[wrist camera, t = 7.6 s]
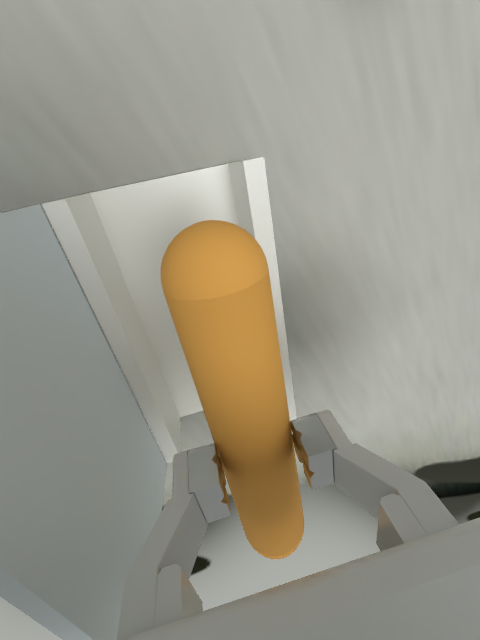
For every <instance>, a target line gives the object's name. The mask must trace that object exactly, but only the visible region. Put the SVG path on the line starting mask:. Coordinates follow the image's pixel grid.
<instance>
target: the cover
mask: <svg viewBox="0 0 480 640" xmlns="http://www.w3.org/2000/svg"><path fill="white" fill-rule="evenodd" d="M166 468H167V463H166V461H165V459H164V457H163V455H162V453H161V451H160V449H159V447H158V445H157V443H156V441H155V439H154V437H153V434H152V432H151V430H150V428H149V426H148V424H147V422H146V420H145V418H144V416H143V414H142V412H141V410H140V408H139V406H138V404H137V402H136V400H135V398H134V395H133V393H132V391H131V389H130V387H129V385H128V383H127V381H126V379H125V377H124V375H123V373H122V371H121V369H120V367H119V365H118V363H117V361H116V359H115V356H114V354H113V352H112V350H111V348H110V346H109V344H108V342H107V340H106V338H105V336H104V334H103V332H102V330H101V328H100V326H99V324H98V322H97V320H96V318H95V315H94V313H93V311H92V309H91V307H90V305H89V303H88V301H87V299H86V297H85V295H84V293H83V291H82V289H81V287H80V285H79V283H78V281H77V279H76V276H75V274H74V272H73V270H72V268H71V266H70V264H69V262H68V260H67V258H66V256H65V254H64V252H63V250H62V248H61V246H60V244H59V242H58V240H57V238H56V235H55V233H54V231H53V229H52V227H51V225H50V223H49V221H48V219H47V217H46V215H45V213H44V211H43V209H42V207H41V205H40V204H39V205H34V206H29V207H25V208H20V209H16V210H11V211H7V212H3V213H0V596H1V597H2V598H4V599H5V600H7V601H8V602H9V603H11V604H12V605H14V606H15V607H16V608H18V609H19V610H21V611H22V612H24V613H25V614H27V615H28V616H30V617H31V618H32V619H34V620H35V621H37V622H38V623H40V624H41V625H42V626H44V627H45V628H47V629H48V630H50V631H51V632H53V633H54V634H55V635H57V636H58V637H60V638H61V639H63V640H117V634H118V627H119V619H120V612H121V604H122V597H123V589H124V582H125V577H126V576H127V574H128V572H129V570H130V568H131V567H132V565H133V563H134V561H135V559H136V558H137V556H138V554H139V552H140V550H141V549H142V547H143V545H144V543H145V541H146V540H147V538H148V536H149V534H150V533H151V531H152V529H153V527H154V525H155V524H156V522H157V520H158V518H159V516H160V515H161V510H162V501H163V493H164V485H165V476H166Z"/></svg>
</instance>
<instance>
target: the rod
mask: <svg viewBox="0 0 480 640" xmlns="http://www.w3.org/2000/svg"><path fill="white" fill-rule="evenodd" d="M161 284H162V288H163V293H164V295H165V298H166V301H167V304H168V307H169V310H170V313H171V316H172V319H173V322H174V325H175V328H176V331H177V334H178V337H179V340H180V343H181V346H182V349H183V351H184V354H185V357H186V360H187V363H188V366H189V369H190V372H191V375H192V378H193V381H194V384H195V387H196V390H197V393H198V396H199V399H200V402H201V405H202V408H203V410H204V413H205V416H206V419H207V422H208V425H209V428H210V431H211V434H212V437H213V440H214V443H215V444H216V447H217V449H218V455H219V457H220V458H221V461H222V465H223V469H224V472H225V475H226V478H227V481H228V484H229V487H230V490H231V493H232V496H233V499H234V502H235V505H236V507H237V511H238V514H239V517H240V519H241V522H242V525H243V528H244V531H245V534H246V537H247V539H248V541H249V543H250V544H251V546H252V547H253V548H254V549H255V550H256V551H257V552H258V553H259V554H261V555H263V556H265V557H267V558H270V559H281V558H284V557H287V556H289V555H290V554H291V553H293V552H294V550H295V549H296V548H297V547H298V545H299V543H300V542H301V540H302V536H303V532H304V517H303V510H302V502H301V496H300V489H299V481H298V474H297V467H296V460H295V453H294V446H293V439H292V432H291V426H290V417H289V410H288V403H287V396H286V389H285V382H284V375H283V368H282V361H281V354H280V347H279V340H278V333H277V325H276V318H275V311H274V304H273V297H272V290H271V283H270V276H269V269H268V264H267V260H266V256H265V254H264V252H263V250H262V248H261V246H260V245H259V244H258V242H257V241H256V240H255V238H254V237H253V236H252V235H251V234H250V233H248V232H247V231H246V230H245V229H243V228H241V227H239V226H237V225H235V224H233V223H230V222H226V221H221V220H206V221H201V222H197V223H194V224H192V225H191V226H189V227H187V228H185V229H183V230H182V231H181V232H180V233H179V234H178V235H176V236H175V237H174V238H173V240H172V241H171V243H170V244H169V245H168V247H167V249H166V251H165V254H164V256H163V259H162V264H161Z"/></svg>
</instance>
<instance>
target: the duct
mask: <svg viewBox="0 0 480 640" xmlns="http://www.w3.org/2000/svg"><path fill="white" fill-rule="evenodd" d="M42 206H43V208H44V210H45V212H46V214H47V216H48V219H49V221H50V223H51V225H52V227H53V229H54V231H55V233H56V235H57V237H58V239H59V241H60V243H61V245H62V247H63V249H64V252H65V254H66V256H67V258H68V260H69V262H70V264H71V266H72V268H73V270H74V272H75V274H76V276H77V278H78V280H79V282H80V284H81V287H82V289H83V291H84V293H85V295H86V297H87V299H88V301H89V303H90V305H91V307H92V309H93V311H94V313H95V315H96V317H97V319H98V322H99V324H100V326H101V328H102V330H103V332H104V334H105V336H106V338H107V340H108V342H109V344H110V346H111V348H112V350H113V352H114V355H115V357H116V359H117V361H118V363H119V365H120V367H121V369H122V371H123V373H124V375H125V377H126V379H127V381H128V383H129V385H130V387H131V390H132V392H133V394H134V396H135V398H136V400H137V402H138V404H139V406H140V408H141V410H142V412H143V414H144V416H145V418H146V420H147V423H148V425H149V427H150V429H151V431H152V433H153V435H154V437H155V439H156V441H157V443H158V445H159V447H160V449H161V451H162V453H163V455H164V458H165V460H166V462H167V464H169V463H172V462H173V458H174V454H177V453H180V452H181V434H180V417H183V416H187V415H190V414H194V413H197V412H200V411H204V410H203V408H202V405H201V402H200V399H199V396H198V393H197V390H196V387H195V384H194V381H193V378H192V375H191V372H190V369H189V366H188V363H187V360H186V357H185V354H184V351H183V349H182V346H181V343H180V340H179V337H178V334H177V331H176V328H175V325H174V322H173V319H172V316H171V313H170V310H169V307H168V304H167V301H166V298H165V295H164V293H163V288H162V284H161V264H162V259H163V256H164V254H165V251H166V249H167V247H168V245H169V244H170V243H171V241H172V240H173V238H174V237H175V236H176V235H178V234H179V233H180V232H181V231H182V230H183V229H185V228H187V227H189V226H191V225H192V224H194V223H197V222H201V221H206V220H221V221H226V222H230V223H233V224H235V225H237V226H239V227H241V228H243V229H245V230H246V231H247V232H248V233H250V234H251V235H252V236H253V237H254V238H255V240H256V241H257V242H258V244H259V245H260V246H261V248H262V250H263V252H264V254H265V256H266V260H267V264H268V269H269V276H270V283H271V290H272V297H273V304H274V311H275V318H276V325H277V333H278V340H279V347H280V354H281V361H282V368H283V375H284V382H285V389H286V396H287V403H288V410H289V417H290V421H291V420H294V419H297V417H296V409H295V401H294V393H293V385H292V377H291V369H290V361H289V353H288V345H287V337H286V329H285V321H284V313H283V305H282V297H281V289H280V281H279V273H278V265H277V257H276V249H275V241H274V233H273V225H272V217H271V209H270V201H269V193H268V185H267V177H266V169H265V161H264V157H260V158H254V159H249V160H243V161H238V162H233V163H229V164H224V165H219V166H214V167H210V168H205V169H200V170H196V171H191V172H186V173H181V174H177V175H172V176H167V177H162V178H158V179H153V180H148V181H144V182H139V183H134V184H129V185H125V186H120V187H115V188H110V189H106V190H101V191H96V192H92V193H87V194H82V195H77V196H73V197H69V198H65V199H60V200H56V201H52V202H48V203H43V204H42Z"/></svg>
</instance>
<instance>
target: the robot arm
mask: <svg viewBox="0 0 480 640" xmlns="http://www.w3.org/2000/svg"><path fill="white" fill-rule="evenodd" d="M290 426H291V429H292V432H293V435H292V439H293V444H294V448H295V451H296V454H297V456H298V459H299V461H300V462H301V463H303V467H304V473H305V475H306V478H307V480H308V482H309V484H310V487H311V489H312V490H313V489H316V488H320V487H324V486H327V485H331V484H334V483H335V485H336V486H337V487H338V488H340V489H341V490H342V491H343V492H344V493H346V494H347V495H348V496H349V497H351V498H352V499H353V500H354V501H356V502H357V503H358V504H359V505H361V506H362V507H363V508H364V509H365V510H367V511H368V512H369V513H370V514H372V515H373V516H374V517H375V518H377V519H378V530H377V541H376V543H377V545H378V547H379V549H380V552H377V553H374V554H371V555H368V556H365V557H362V558H359V559H356V560H353V561H350V562H347V563H344V564H341V565H338V566H336V567H333V568H330V569H327V570H324V571H321V572H318V573H315V574H312V575H309V576H306V577H303V578H300V579H297V580H294V581H291V582H288V583H285V584H283V585H279V586H277V587H274V588H271V589H268V590H265V591H262V592H259V593H256V594H253V595H250V596H247V597H244V598H241V599H238V600H235V601H232V602H230V603H227V604H224V605H220V606H218V607H215V608H212V609H209V610H206V611H203V608H202V601H201V599H200V598H199V596H198V595H197V593H196V591H195V589H194V588H193V586H192V584H191V583H190V581H189V577H190V574H191V571H192V569H193V566H194V563H195V560H196V557H197V554H198V551H199V549H200V546H201V542H202V540H203V537H204V534H205V531H206V529H207V526H208V525H207V523H210V522H213V521H216V520H218V519H221V518H224V517H227V516H230V515H231V512H230V505H229V499H228V494H227V491H226V488H225V485H226V479H225V474H224V469H223V465H222V461H221V458H220V457H219V456H218V449H217V447H216V444H215V443H214V444H210V445H206V446H202V447H199V448H195V449H191V450H188V451H184V452H180V453H177V454H174V458H173V498H172V499H171V500H169V501H168V502H167V504H166V506H165V507H164V509H163V511H162V513H161V515H160V516H159V518H158V520H157V522H156V524H155V525H154V527H153V529H152V531H151V533H150V534H149V536H148V538H147V540H146V541H145V543H144V545H143V547H142V549H141V550H140V552H139V554H138V556H137V558H136V559H135V561H134V563H133V565H132V567H131V568H130V570H129V572H128V574H127V576H126V577H125V582H124V589H123V597H122V604H121V612H120V619H119V627H118V634H117V640H480V518H477V519H474V520H471V521H468V522H465V523H463V524H459V523H458V522H457V521H456V520H455V519H454V517H453V516H452V515H451V514H450V512H449V511H448V510H447V509H446V507H445V506H444V505H443V503H442V502H441V501H440V500H439V498H438V497H437V496H436V495H435V493H434V492H433V491H432V490H431V488H430V487H429V486H428V485H427V483H426V482H424V481H423V480H421V479H419V478H417V477H415V476H414V475H412V474H410V473H408V472H406V471H405V470H403V469H401V468H399V467H397V466H396V465H394V464H392V463H390V462H388V461H387V460H385V459H383V458H381V457H380V456H378V455H376V454H374V453H372V452H371V451H369V450H367V449H365V448H363V447H362V446H360V445H358V444H352V443H351V442H350V440H349V439H348V437H347V436H346V434H345V433H344V431H343V430H342V428H341V426H340V425H339V423H338V422H337V420H336V419H335V417H334V416H333V414H332V413H331V411H330V410H325V411H321V412H318V413H314V414H310V415H307V416H304V417H301V418H297V419H294V420H291V421H290Z"/></svg>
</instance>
